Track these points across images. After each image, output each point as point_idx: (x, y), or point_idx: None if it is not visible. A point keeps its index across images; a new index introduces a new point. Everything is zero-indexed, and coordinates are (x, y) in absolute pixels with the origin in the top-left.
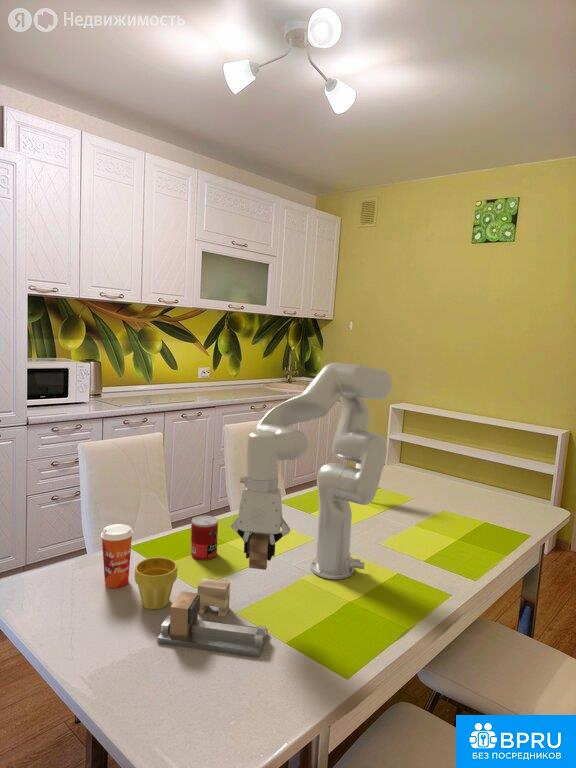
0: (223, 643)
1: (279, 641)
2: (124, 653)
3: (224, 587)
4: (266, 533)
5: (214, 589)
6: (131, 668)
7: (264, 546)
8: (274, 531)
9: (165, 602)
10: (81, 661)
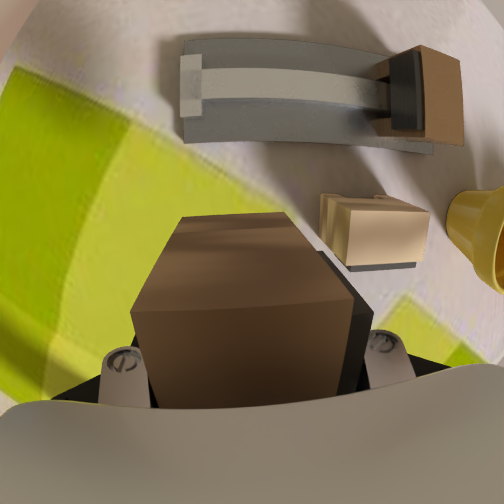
0: (286, 52)
1: (148, 120)
2: (454, 44)
3: (356, 222)
4: (138, 407)
5: (383, 209)
6: (425, 4)
7: (170, 279)
8: (25, 419)
9: (454, 207)
10: (486, 34)
